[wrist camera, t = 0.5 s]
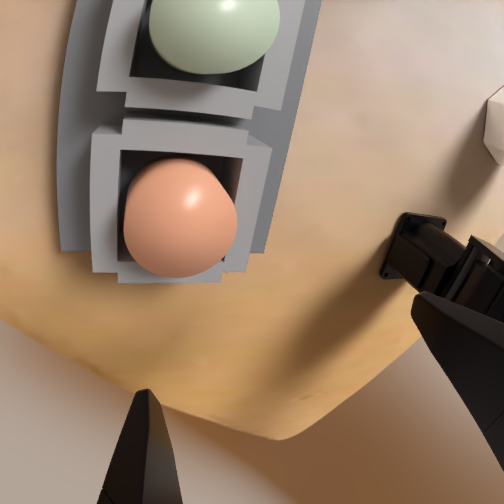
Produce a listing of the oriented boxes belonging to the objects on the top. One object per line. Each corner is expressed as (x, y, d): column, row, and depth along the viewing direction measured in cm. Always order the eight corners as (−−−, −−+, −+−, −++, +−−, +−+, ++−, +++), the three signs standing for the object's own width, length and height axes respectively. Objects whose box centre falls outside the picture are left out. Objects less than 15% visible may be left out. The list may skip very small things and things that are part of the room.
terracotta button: (226, 158, 14) (246, 178, 12) (212, 243, 16) (227, 277, 14) (129, 151, 13) (125, 170, 10) (125, 242, 15) (123, 277, 12)
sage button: (261, -7, 10) (290, -23, 8) (242, 81, 12) (266, 83, 10) (161, -24, 9) (166, -49, 6) (140, 69, 11) (138, 66, 8)
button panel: (325, -87, 10) (371, -112, 6) (253, 238, 21) (282, 281, 17) (136, -126, 6) (140, -169, 2) (67, 234, 17) (50, 283, 13)
